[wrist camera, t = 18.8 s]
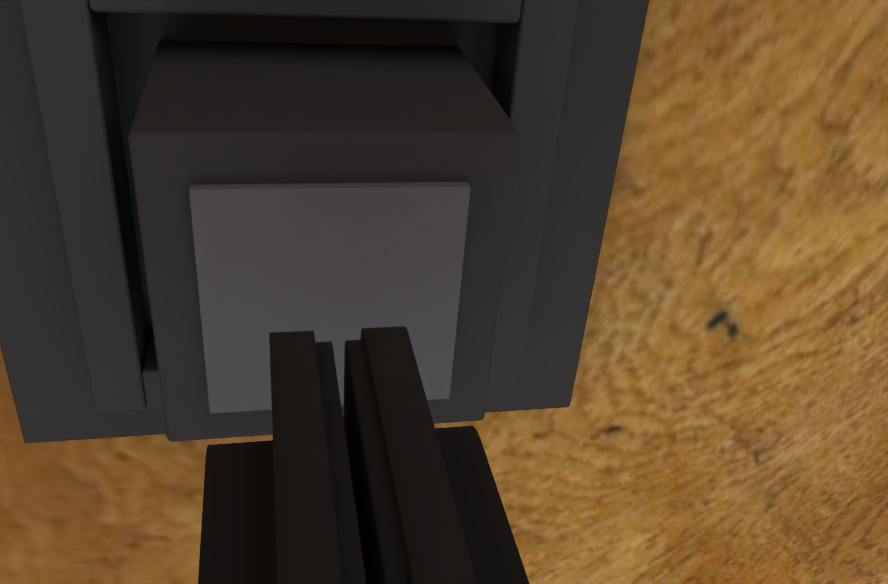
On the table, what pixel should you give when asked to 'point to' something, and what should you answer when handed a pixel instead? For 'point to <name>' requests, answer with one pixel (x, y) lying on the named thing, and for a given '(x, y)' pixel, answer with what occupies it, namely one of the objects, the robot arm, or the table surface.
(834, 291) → the table surface
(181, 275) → the small cube
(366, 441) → the robot arm
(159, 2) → the base pad
